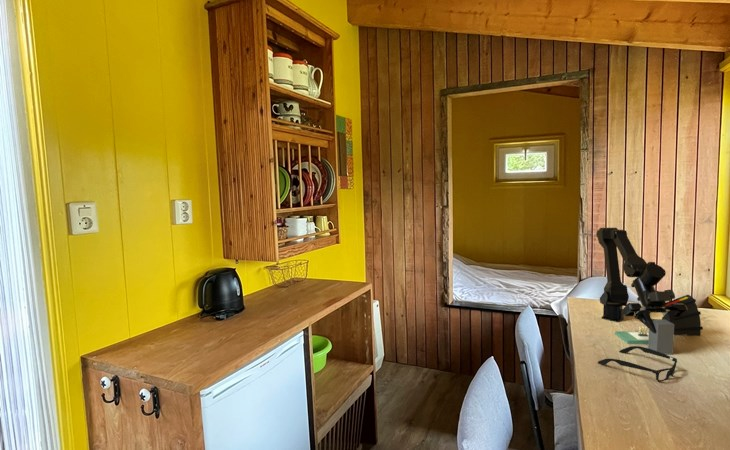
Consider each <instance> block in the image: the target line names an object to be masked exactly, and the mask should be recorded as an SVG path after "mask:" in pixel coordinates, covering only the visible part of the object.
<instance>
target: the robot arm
mask: <svg viewBox="0 0 730 450" xmlns="http://www.w3.org/2000/svg"><path fill="white" fill-rule="evenodd" d="M596 238H597V241H598V244H599V245H600V246H601V247H602V248H603V256H604V263H605V271H606V279H607V282H606V284H605V286H603V293H602V294H601V295H600V297H599V303H600V304H601V305H603V312H602V313H603V314H602V316H601V319H604V320H607V321H612V322H618V323H619V322H620V321H622V320H624V317H625V318H628V317H630V318H633V317H634V319H635V320H636V319H637V320H638V321H639V322H640V323H642V324H643V325H644V326H645V327H647V329H648V330H649V329H650V330H651V331H652V332H653V333H656V329H655V326H654V324H653V322H652V319H653V318H652V317H651V313H657V314H658V313H660V314H662V315H663V316H662V317H661V319H665V320H667V321H669V322H671V323H673V321H674V317H681V316H682V315H683V314H684V313H685V312H686V311H687V310H688V309H687V307H686V305H685V304H682V303H672V304H671V305H670V306H669V307H663V306H662V305H665V304H666V302H669V301H672V300H674V299H676V295H675V294H676V293H675V292H674V290H673V289H664V291H661V290H656V288H655V286H657V285H658V284H659V283H660V281H662V279H663V278H664V277H665V276H666V273H667V271H666V270H665V269H664V268H663V267H662V266H661V265H659V264H656V262H655V261H648V262H647V261H646V260H645V259H644V258H643V257H641V256H640V255H638V254H637V252H636V250H635V249H634V246H633V244H632V242H631V241H630V238H629V237H628V232H627V230H625V229H618V228H617V227H600V228H599V229H598V230H597V231H596ZM618 252H619V253H620V256H621V258H622V259H623V265H622V269H623V273H624V274H625V276H626V277H628V278H634V279H633V280H632V283H631V285H630V287H631V288H634V289H635V292H636V294H637V296H638V297H636V300H637V301H638V302H628V301H629V296H630V295H629V293H628V286H627V285H626V284H624V283H623V282H622V280H621V270H620V263H619V262H620V261H619V254H618ZM639 302H640V303H639Z"/></svg>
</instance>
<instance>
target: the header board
mask: <svg viewBox="0 0 730 450" xmlns="http://www.w3.org/2000/svg"><path fill="white" fill-rule="evenodd" d="M638 330H639V331H625V330H623V331H621V330H619V331H617V330H615V331H614V335H615V336H616V337H618V338H619V339H620V340H622V341H623V342H625V343H626V344H628V345H648V340H649V331H648V327H647V326H639V327H638Z"/></svg>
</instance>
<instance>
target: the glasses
mask: <svg viewBox="0 0 730 450" xmlns="http://www.w3.org/2000/svg"><path fill="white" fill-rule="evenodd" d="M635 349H638V350H640V351H642V352H643V353H645V354H651V355H654V356H658V357H660V358H664V359H668V360H671V361H672V362H673V365H672V366H671V367H669V368H667V367H666V368H662V369H658V370H656V369H652V368H650V367H646V366H642V365H640V364H637V363H633V362H629V361H625V360H621V359H617V358H604V359H601V360H599V361H597V364H599V365H601V366H605V365H608V363H610V362H613V363H614V362H615V363H617V364H618V365H620V366H622V367H626V368H632V369H637V370H642V371H645V372H651V373H653V374H655V379H656V381H657V382H658V383H661V382H664V381H668V379H669V378H670V376H671V377H673V376H674V373H675V370H676V367H677V362H678V359H677V358H676V357H673V356H670V355H669V354H663V353H660V352H657V351H655V350H652V349H649V348H648V347H645V346H640V345H633V346H632V345H631V346H627V347H625V348H622V349H620V350H618V352H619V353H621V354H625V355H626V354H628V353H629V352H631V351H633V350H635ZM666 371H667V373H666V376H665V378H663V379H659V377H660V374H661V372H666Z"/></svg>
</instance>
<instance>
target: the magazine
mask: <svg viewBox="0 0 730 450" xmlns="http://www.w3.org/2000/svg"><path fill="white" fill-rule="evenodd" d="M696 302H697V299H696V298H694V297H693V296H692V295H690V294H686V295H682V296H680V297H678V298H675V299H671V301H666V304H665V305H662V306H663V307H669V306H670V305H671V304H672V303H682V304H685V305H686V307H687V309H688V310H687V311H686V312H685V313H684V314H683V315H682V316H681V317H674V321H673V324H674V335H676V336H696V337H697V336H699V337H701V336H702V333H701V331H703V330H704V327H703V326H702V325H701V317H700V316H701V315H702V313H701V311H699V309H698V305H697V304H696Z"/></svg>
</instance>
